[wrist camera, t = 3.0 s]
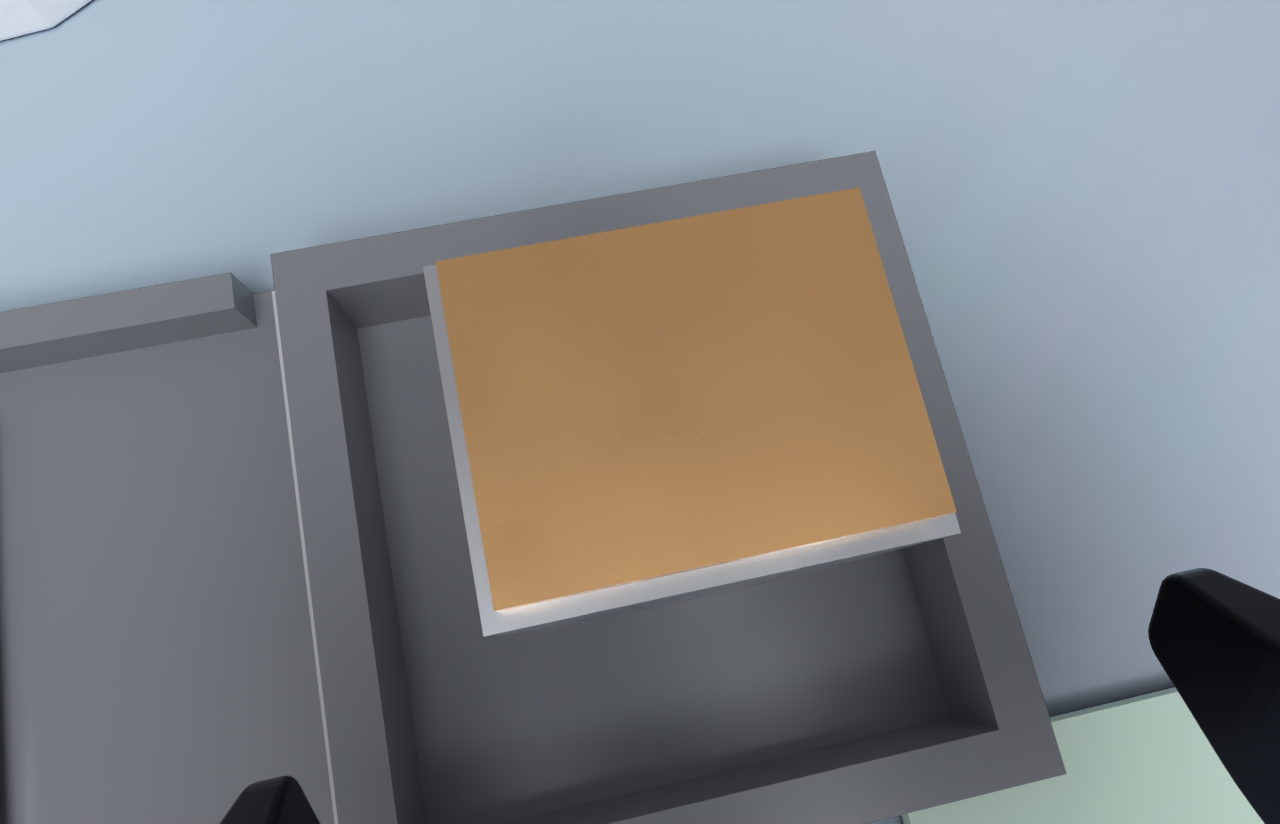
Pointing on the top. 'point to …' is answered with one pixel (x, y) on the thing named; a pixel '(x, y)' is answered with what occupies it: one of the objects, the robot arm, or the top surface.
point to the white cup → (34, 15)
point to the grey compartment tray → (439, 580)
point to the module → (681, 411)
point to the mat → (1117, 774)
